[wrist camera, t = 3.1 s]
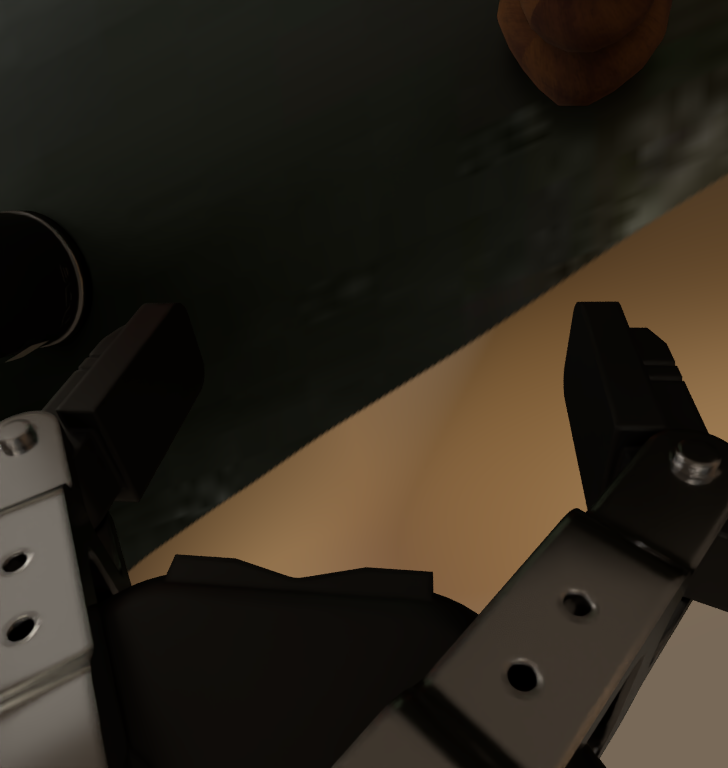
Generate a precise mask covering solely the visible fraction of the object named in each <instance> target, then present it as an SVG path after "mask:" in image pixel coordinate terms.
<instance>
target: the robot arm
mask: <svg viewBox="0 0 728 768" xmlns="http://www.w3.org/2000/svg"><path fill="white" fill-rule="evenodd" d="M89 304H90V282H89V276H88V272H87V268H86V265H85V263H84V260H83V258H82V255H81V253H80V252H79V250H78V248H77V246H76V245H75V243H74V242H73V240H72V239H71V238H70V236H69V235H68V234H67V233H66V232H65V231H64V230H63V229H62V228H61V227H60V226H59V225H58V224H57V223H55V222H54V221H52V220H51V219H49V218H48V217H46V216H44V215H41V214H39V213H36V212H32V211H4V212H0V358H3V357H6V356H10V355H14V354H17V355H16V356H14V357H13V358H11V359H9V360H8V361H6V362H9V361H12V360H15V359H18V358H21V357H24V356H25V355H27V354H29V353H30V352H32V351H33V350H35V349H37V348H39V347H47V346H51V345H55V344H58V343H61V342H64V341H66V340H68V339H70V338H71V337H72V336H74V335H75V334H76V333H77V332H78V331H79V329H80V328H81V326H82V325H83V323H84V321H85V319H86V316H87V314H88V310H89ZM18 353H19V354H18ZM78 368H79V370H78V371H75V372H74V373H73V374H72V375H71V377H70V378H69V379H68V380H67V381H66V382H65V384H64V385H63V386H62V387H61V388H60V390H59V391H58V392H57V393H56V394H55V395H54V397H53V398H52V399H51V400H50V401H49V402H48V404H47V405H46V406H45V407H44V408H43V409H42V411H30V412H25V413H21V414H17V415H14V416H12V417H9V418H7V419H5V420H3V421H1V422H0V768H606V767H605V765H604V764H603V763H602V761H601V760H600V757H601V755H602V754H603V752H604V750H605V749H606V747H607V745H608V743H609V742H610V740H611V738H612V737H613V735H614V734H615V732H616V730H617V728H618V727H619V725H620V723H621V721H622V720H623V718H624V716H625V715H626V713H627V711H628V709H629V707H630V706H631V704H632V702H633V700H634V698H635V696H636V694H637V692H638V690H639V688H640V687H641V685H642V683H643V681H644V680H645V678H646V676H647V675H648V673H649V672H650V670H651V668H652V666H653V665H654V663H655V662H656V660H657V658H658V657H659V655H660V653H661V652H662V650H663V648H664V647H665V645H666V643H667V642H668V640H669V638H670V637H671V635H672V633H673V632H674V630H675V629H676V627H677V625H678V624H679V622H680V620H681V619H682V617H683V615H684V614H685V612H686V610H687V609H688V607H689V605H690V604H691V602H692V601H693V600H694V601H697V602H700V603H703V604H706V605H709V606H712V607H715V608H718V609H721V610H723V611H726V612H728V443H727V442H726V441H724V440H722V439H720V438H718V437H716V436H714V435H711V434H709V433H708V431H707V429H706V427H705V425H704V422H703V420H702V418H701V416H700V414H699V412H698V410H697V407H696V405H695V403H694V401H693V399H692V397H691V395H690V393H689V391H688V388H687V386H686V384H685V382H684V381H682V376H681V373H680V371H679V369H678V367H677V366H675V361H674V358H673V356H672V354H671V352H670V350H669V348H668V346H667V344H666V343H665V342H664V341H663V340H661V339H660V338H659V337H658V336H657V335H655V334H654V333H653V332H652V331H651V330H649V329H648V328H629V325H628V323H627V320H626V318H625V315H624V313H623V310H622V308H621V305H620V303H619V302H577V303H576V305H575V307H574V312H573V318H572V324H571V330H570V336H569V342H568V348H567V355H566V361H565V367H564V397H565V403H566V407H567V412H568V417H569V421H570V427H571V431H572V437H573V441H574V446H575V451H576V456H577V461H578V466H579V471H580V475H581V480H582V485H583V490H584V495H585V499H586V505H587V509H588V511H587V512H583V511H582V510H580V509H578V508H575V509H573V510H571V511H570V512H569V513H568V514H566V515H565V517H564V518H563V519H562V520H561V521H560V522H559V523H558V524H557V526H556V527H555V528H554V529H553V530H552V531H551V532H550V534H549V535H548V536H547V537H546V538H545V539H544V541H543V542H542V543H541V544H540V545H539V546H538V547H537V548H536V550H535V551H534V552H533V553H532V554H531V555H530V557H529V558H528V559H527V560H526V561H525V562H524V564H523V565H522V566H521V567H520V568H519V569H518V570H517V572H516V573H515V574H514V575H513V576H512V577H511V578H510V580H509V581H508V582H507V583H506V584H505V585H504V586H503V588H502V589H501V590H500V591H499V592H498V593H497V594H496V596H495V597H494V598H493V599H492V600H491V601H490V602H489V604H488V605H487V606H486V607H485V608H484V609H483V610H482V612H481V613H480V614H479V615H478V614H477V613H475V612H474V611H472V610H471V609H469V608H467V607H466V606H464V605H462V604H460V603H458V602H456V601H453V600H452V599H450V598H447V597H444V596H441V595H439V594H436V593H433V572H426V571H413V570H397V569H383V568H368V567H367V568H366V567H365V568H359V569H353V570H347V571H340V572H335V573H328V574H322V575H316V576H310V577H303V578H293V577H289V576H286V575H283V574H280V573H277V572H274V571H271V570H268V569H265V568H262V567H259V566H256V565H253V564H250V563H247V562H245V561H242V560H239V559H236V558H221V557H206V556H192V555H178V554H177V555H175V557H174V559H173V561H172V564H171V566H170V568H169V570H168V572H167V575H163V576H159V577H156V578H152V579H149V580H146V581H143V582H140V583H138V584H135V585H133V586H131V582H130V579H129V575H128V572H127V568H126V564H125V561H124V557H123V553H122V550H121V546H120V542H119V539H118V535H117V531H116V528H115V524H114V521H113V518H112V516H111V515H110V513H109V511H108V510H109V508H110V507H111V505H112V503H113V502H114V501H127V502H139V501H140V499H141V498H142V496H143V494H144V492H145V490H146V489H147V487H148V485H149V483H150V481H151V480H152V478H153V476H154V474H155V472H156V471H157V469H158V467H159V465H160V463H161V461H162V460H163V458H164V456H165V454H166V452H167V451H168V449H169V447H170V445H171V443H172V442H173V440H174V438H175V436H176V434H177V433H178V431H179V429H180V427H181V425H182V424H183V422H184V420H185V418H186V416H187V415H188V413H189V411H190V409H191V407H192V406H193V404H194V402H195V400H196V398H197V397H198V395H199V393H200V391H201V389H202V386H203V383H204V363H203V359H202V356H201V353H200V350H199V347H198V344H197V341H196V337H195V334H194V331H193V328H192V325H191V322H190V319H189V315H188V313H187V310H186V308H185V307H184V306H183V305H182V304H181V303H145V304H143V305H142V306H141V307H140V308H139V309H138V311H137V312H136V313H135V314H134V316H133V317H132V318H131V319H130V320H129V322H128V323H127V324H126V325H125V326H122V327H120V328H119V329H117V330H116V331H114V332H113V333H111V334H110V335H108V336H107V337H105V338H104V339H102V340H101V341H100V343H99V344H98V345H97V346H96V347H95V348H94V350H93V351H92V352H91V353H90V354H89V358H86V359H85V360H84V361H83V363H82V364H81V365H80V366H79V367H78Z"/></svg>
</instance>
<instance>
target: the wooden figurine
mask: <svg viewBox="0 0 728 768" xmlns="http://www.w3.org/2000/svg"><path fill="white" fill-rule="evenodd" d="M671 5H672V0H500V2H499V8H498V13H497V18H498V22H499V25H500V27H501V30H502V32H503V34H504V37H505V39H506V42H507V44H508V46H509V49H510V50H511V52H512V53H513V55H514V57H515V58H516V60H517V61H518V63H519V65H520V66H521V68H522V69H523V71H524V72H525V73H526V74H527V75H528V77H529V78H530V79H531V80H532V81H533V83H534V84H535V85H536V86H537V87H538V89H539V90H540V91H542V92H543V93H544V94H545V95H546V96H548V97H549V98H550V99H551V100H552V101H554V102H555V103H556V104H557V105H558V106H588V105H590V104H591V103H593V102H595V101H597V100H599V99H601V98H603V97H605V96H606V95H608V94H610V93H612V92H614V91H615V90H616V89H618V88H619V87H620V86H621V85H622V84H624V83H625V82H626V81H627V80H629V79H630V78H631V77H632V76H634V75H635V74H636V73H637V72H638V71H640V70H641V69H642V68H643V67H644V66H645V64H646V63H647V61H648V60H649V58H650V57H651V55H652V54H653V52H654V51H655V50H656V48H657V47H658V45H659V44H660V42H661V41H662V40H663V37H664V35H665V33H666V29H667V24H668V19H669V14H670V9H671Z"/></svg>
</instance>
